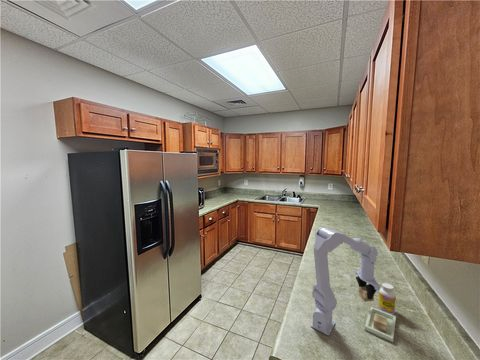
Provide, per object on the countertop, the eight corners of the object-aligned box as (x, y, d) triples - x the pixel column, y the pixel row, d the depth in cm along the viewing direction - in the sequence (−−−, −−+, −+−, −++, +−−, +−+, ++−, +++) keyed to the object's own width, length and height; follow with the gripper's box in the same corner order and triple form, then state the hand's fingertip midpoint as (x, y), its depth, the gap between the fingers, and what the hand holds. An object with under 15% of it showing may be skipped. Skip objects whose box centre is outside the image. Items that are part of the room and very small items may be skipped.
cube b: (373, 301, 98) (374, 292, 98) (364, 301, 98) (365, 292, 97) (367, 295, 102) (367, 286, 102) (358, 295, 102) (359, 287, 102)
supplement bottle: (380, 313, 99) (381, 288, 98) (376, 304, 105) (377, 280, 104) (397, 316, 97) (398, 291, 96) (392, 307, 103) (393, 283, 102)
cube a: (386, 328, 90) (387, 318, 89) (385, 335, 86) (386, 325, 86) (374, 323, 92) (374, 314, 92) (373, 329, 89) (373, 320, 89)
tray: (393, 343, 83) (393, 338, 83) (364, 330, 89) (364, 326, 89) (395, 320, 95) (396, 316, 95) (370, 310, 101) (370, 306, 101)
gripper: (386, 276, 92) (385, 304, 93) (364, 261, 106) (363, 285, 107) (372, 277, 91) (371, 305, 92) (351, 261, 106) (351, 286, 107)
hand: (366, 295), depth 100 cm, fingers closed on cube b, 4 cm apart
